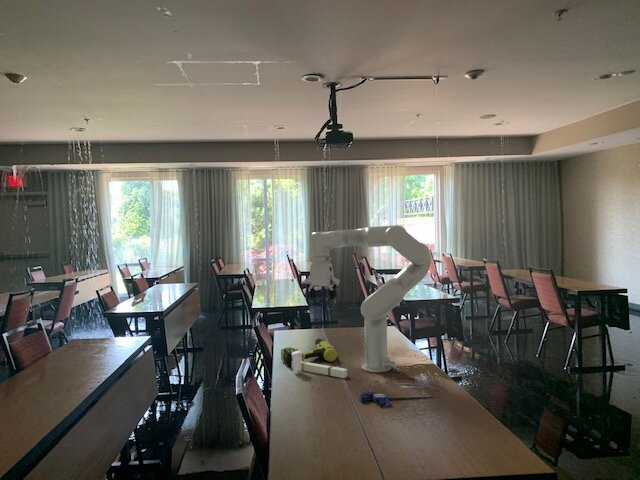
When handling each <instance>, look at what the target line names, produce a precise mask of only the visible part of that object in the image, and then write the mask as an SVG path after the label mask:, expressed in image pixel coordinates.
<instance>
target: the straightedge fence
mask: <svg viewBox="0 0 640 480" xmlns="http://www.w3.org/2000/svg"><path fill="white" fill-rule="evenodd" d="M291 369H292V370H293V362H292V367H291ZM302 371H304V372H307V373H308V372H309V373H312V374H313V373H314V374H318V375H319V374H320V375H325V376H329V377H337V378H341V379H346V378H347V377H348V369H347V368H343V367H336V366H334V365H333V366H331V365H326V364H319V363H314V362H309V361H305V360H304V361H302V370H301V372H302Z"/></svg>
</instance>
